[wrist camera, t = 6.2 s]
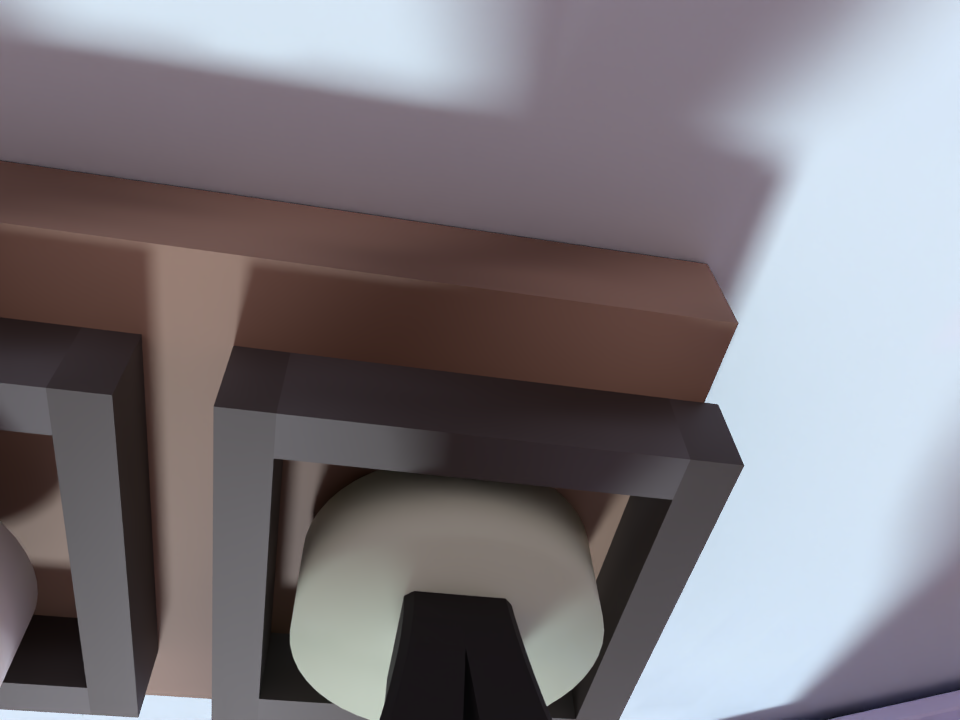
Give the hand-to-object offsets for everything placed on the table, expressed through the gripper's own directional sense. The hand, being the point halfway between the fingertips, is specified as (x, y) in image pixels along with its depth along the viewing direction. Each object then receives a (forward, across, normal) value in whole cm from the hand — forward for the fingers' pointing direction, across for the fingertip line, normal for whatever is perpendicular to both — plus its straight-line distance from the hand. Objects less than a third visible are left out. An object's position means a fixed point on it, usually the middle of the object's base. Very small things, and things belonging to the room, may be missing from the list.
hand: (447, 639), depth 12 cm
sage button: (+1, 0, 0) cm, 1 cm away
